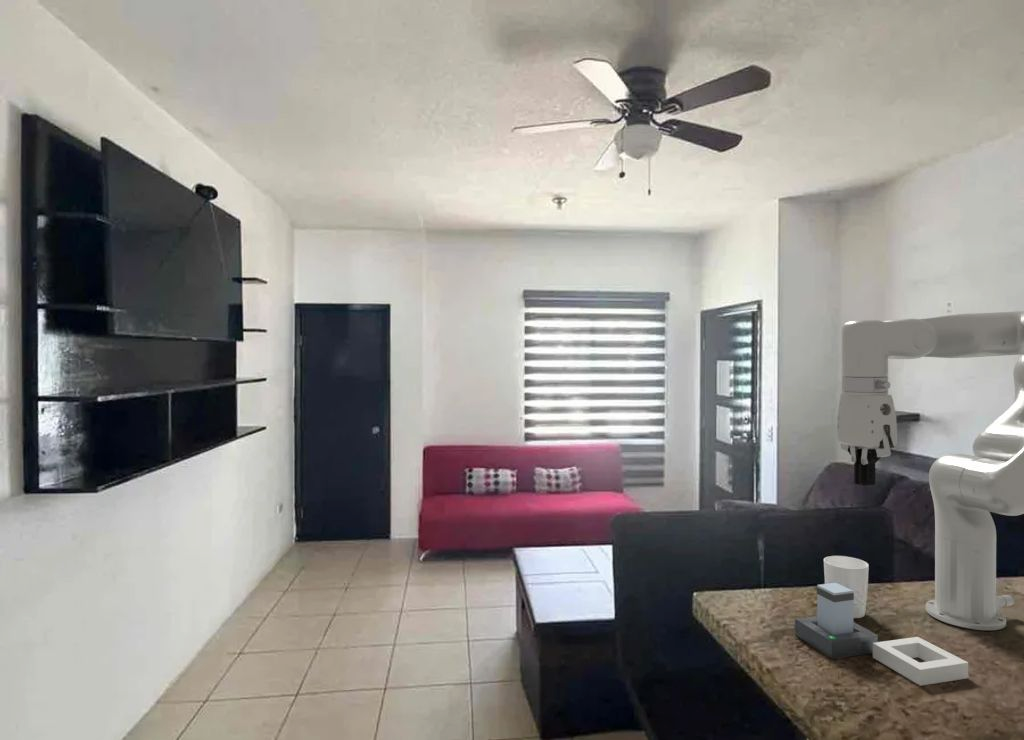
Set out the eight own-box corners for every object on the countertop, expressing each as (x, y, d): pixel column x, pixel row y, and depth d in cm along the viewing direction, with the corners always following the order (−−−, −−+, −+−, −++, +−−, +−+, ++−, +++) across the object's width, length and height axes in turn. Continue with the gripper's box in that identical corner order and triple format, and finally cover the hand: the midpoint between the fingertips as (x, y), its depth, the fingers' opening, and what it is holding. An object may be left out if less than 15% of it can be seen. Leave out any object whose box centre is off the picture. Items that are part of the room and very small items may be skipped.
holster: (917, 651, 105) (917, 636, 105) (968, 678, 96) (968, 662, 96) (872, 657, 103) (872, 642, 103) (920, 685, 94) (920, 669, 94)
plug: (835, 636, 111) (835, 582, 111) (853, 647, 107) (853, 590, 107) (817, 639, 110) (816, 584, 110) (834, 650, 106) (834, 593, 106)
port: (837, 629, 114) (837, 612, 114) (877, 652, 105) (877, 633, 105) (795, 634, 112) (795, 617, 112) (831, 658, 103) (831, 640, 103)
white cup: (866, 607, 124) (866, 558, 124) (870, 622, 117) (870, 571, 117) (822, 601, 127) (822, 553, 127) (824, 616, 120) (824, 565, 120)
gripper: (915, 388, 107) (915, 491, 108) (851, 384, 122) (851, 475, 122) (880, 389, 106) (880, 494, 106) (818, 385, 120) (819, 478, 121)
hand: (864, 484), depth 114 cm, fingers closed
